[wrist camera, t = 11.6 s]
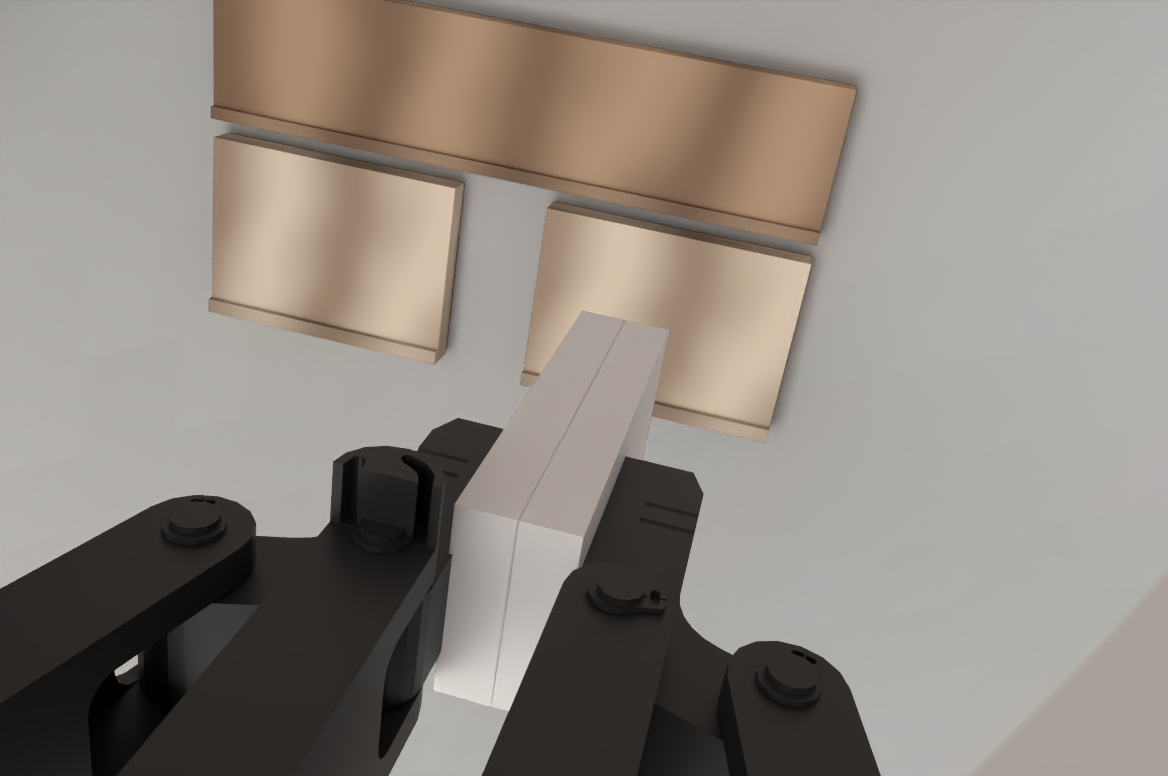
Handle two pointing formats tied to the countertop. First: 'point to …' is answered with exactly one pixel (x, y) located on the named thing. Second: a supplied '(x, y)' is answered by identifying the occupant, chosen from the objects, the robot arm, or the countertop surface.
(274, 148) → the plank
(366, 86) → the laid board
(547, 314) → the plank
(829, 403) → the countertop surface
